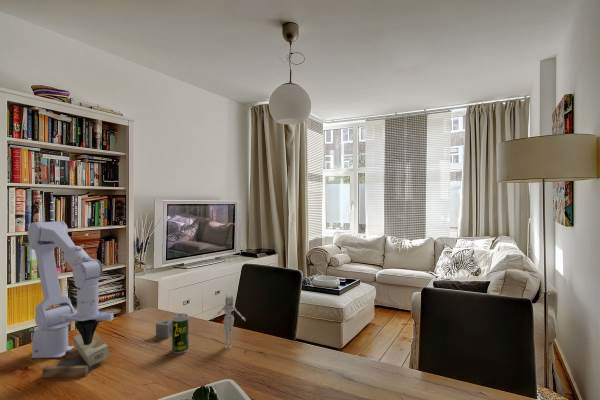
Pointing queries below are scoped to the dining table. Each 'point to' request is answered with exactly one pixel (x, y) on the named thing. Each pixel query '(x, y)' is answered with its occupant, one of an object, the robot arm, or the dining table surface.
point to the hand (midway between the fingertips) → (87, 343)
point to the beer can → (180, 333)
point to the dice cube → (164, 329)
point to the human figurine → (228, 317)
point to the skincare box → (91, 349)
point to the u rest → (69, 366)
